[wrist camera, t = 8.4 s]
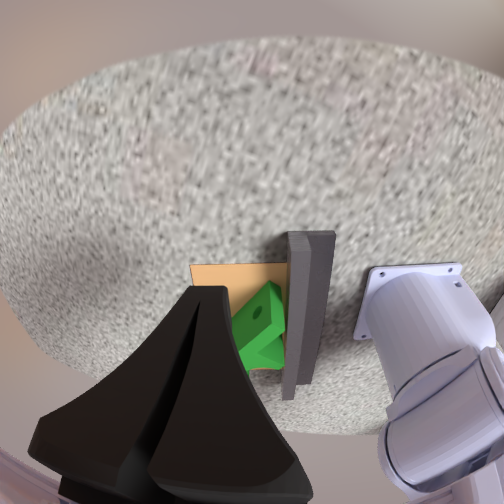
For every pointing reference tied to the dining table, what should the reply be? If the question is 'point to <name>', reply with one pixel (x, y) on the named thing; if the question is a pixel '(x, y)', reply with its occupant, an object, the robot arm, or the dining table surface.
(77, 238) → the dining table surface
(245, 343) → the pipe clamp
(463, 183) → the dining table surface
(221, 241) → the dining table surface
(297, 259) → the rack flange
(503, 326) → the supplement box
